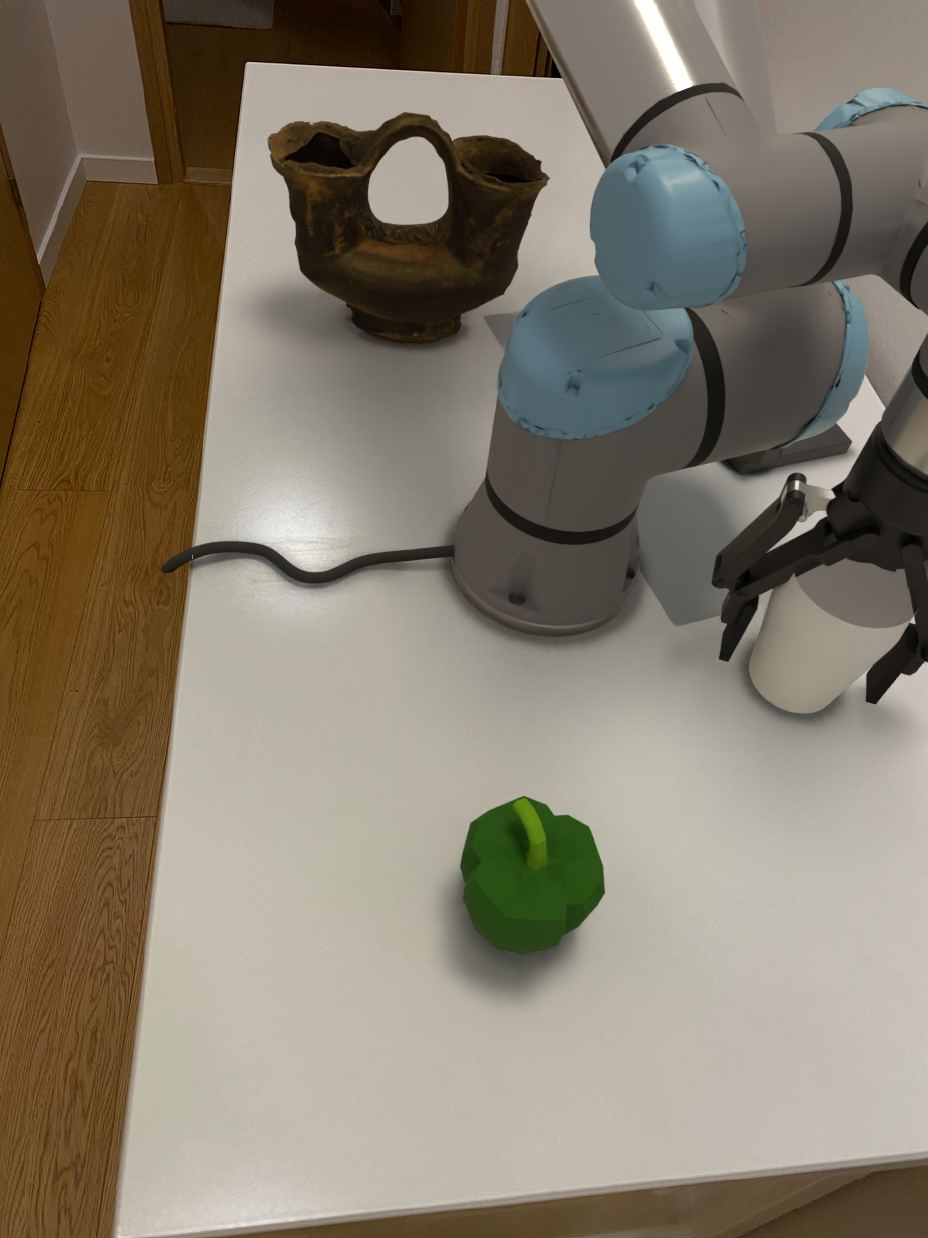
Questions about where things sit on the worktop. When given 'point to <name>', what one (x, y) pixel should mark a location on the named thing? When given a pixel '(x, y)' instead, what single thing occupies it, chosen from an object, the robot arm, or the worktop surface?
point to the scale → (795, 451)
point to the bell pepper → (529, 875)
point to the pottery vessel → (406, 254)
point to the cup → (827, 632)
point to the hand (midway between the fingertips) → (797, 668)
